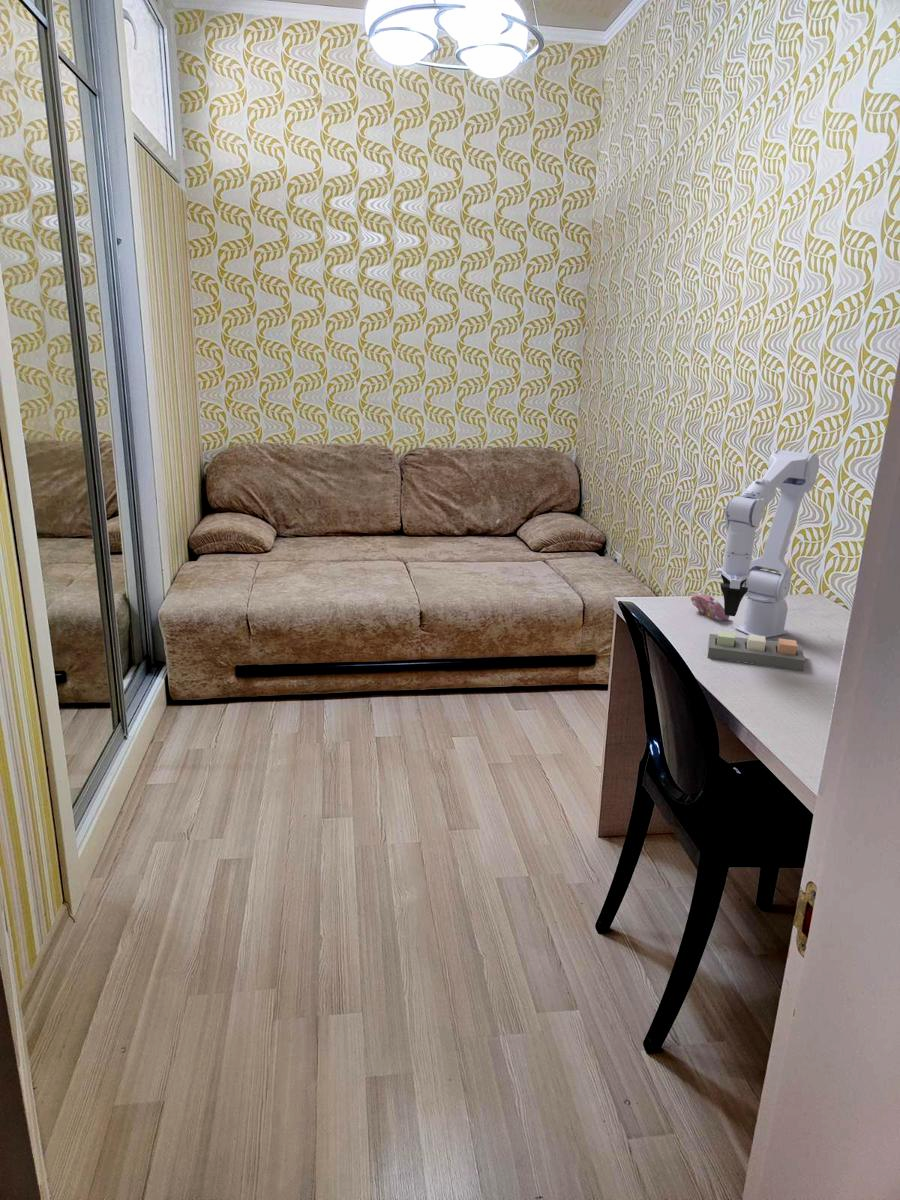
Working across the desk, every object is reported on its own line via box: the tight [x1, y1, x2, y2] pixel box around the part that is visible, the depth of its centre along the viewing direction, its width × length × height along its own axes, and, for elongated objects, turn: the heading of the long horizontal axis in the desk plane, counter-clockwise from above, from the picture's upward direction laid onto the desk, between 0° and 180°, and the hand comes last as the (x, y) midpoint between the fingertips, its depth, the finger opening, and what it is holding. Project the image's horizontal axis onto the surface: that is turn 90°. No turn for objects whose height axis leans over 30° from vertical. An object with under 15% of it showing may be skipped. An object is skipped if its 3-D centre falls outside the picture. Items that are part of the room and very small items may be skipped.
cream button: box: [746, 634, 767, 651], centre depth 180 cm, size 4×4×3 cm
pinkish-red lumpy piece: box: [690, 592, 730, 621], centre depth 205 cm, size 10×5×7 cm, turn 23°
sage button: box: [717, 630, 736, 647], centre depth 181 cm, size 4×4×3 cm
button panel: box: [707, 633, 806, 672], centre depth 180 cm, size 20×9×2 cm, turn 72°
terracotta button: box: [777, 638, 798, 655], centre depth 178 cm, size 4×4×3 cm
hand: (729, 610), depth 179 cm, fingers open, 7 cm apart
